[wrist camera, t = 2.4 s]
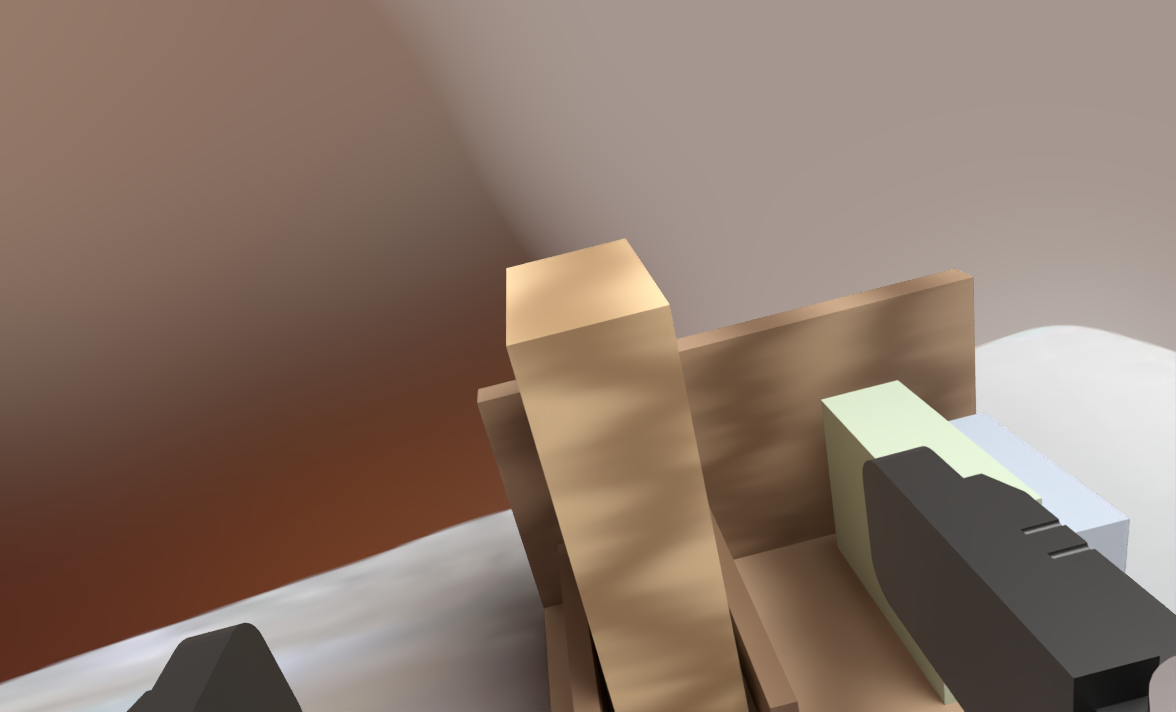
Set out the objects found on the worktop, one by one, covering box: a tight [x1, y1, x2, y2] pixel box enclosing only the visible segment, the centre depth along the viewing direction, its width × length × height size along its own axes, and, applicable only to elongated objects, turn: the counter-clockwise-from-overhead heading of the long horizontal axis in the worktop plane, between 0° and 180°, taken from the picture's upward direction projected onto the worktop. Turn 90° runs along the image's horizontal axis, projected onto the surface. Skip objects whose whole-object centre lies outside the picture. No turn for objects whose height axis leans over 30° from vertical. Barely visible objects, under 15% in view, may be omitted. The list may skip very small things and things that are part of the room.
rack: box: [477, 269, 976, 712], centre depth 25 cm, size 19×12×11 cm, turn 96°
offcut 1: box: [821, 380, 1042, 705], centre depth 25 cm, size 3×8×7 cm, turn 6°
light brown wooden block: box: [506, 239, 749, 712], centre depth 23 cm, size 4×7×15 cm, turn 6°
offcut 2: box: [948, 412, 1130, 573], centre depth 25 cm, size 2×7×5 cm, turn 6°
